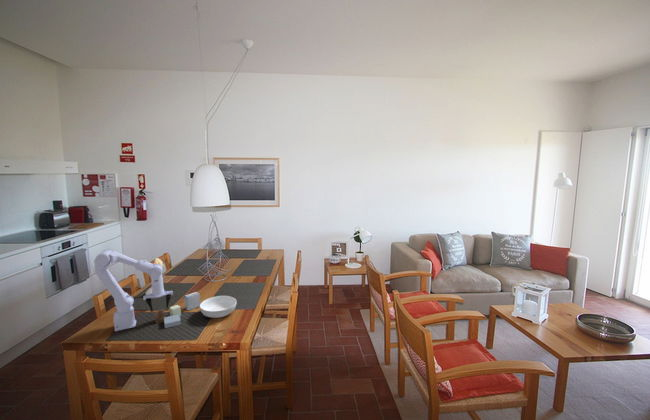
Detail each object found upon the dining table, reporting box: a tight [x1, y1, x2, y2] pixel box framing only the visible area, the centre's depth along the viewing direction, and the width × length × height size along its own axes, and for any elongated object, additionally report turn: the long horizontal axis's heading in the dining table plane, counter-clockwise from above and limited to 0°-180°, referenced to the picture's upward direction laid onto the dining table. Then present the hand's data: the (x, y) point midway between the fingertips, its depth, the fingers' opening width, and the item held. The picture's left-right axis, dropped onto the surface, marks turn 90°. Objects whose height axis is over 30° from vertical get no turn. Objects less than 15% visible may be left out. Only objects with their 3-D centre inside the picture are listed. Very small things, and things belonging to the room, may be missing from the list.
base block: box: [163, 314, 182, 329], centre depth 168 cm, size 8×8×3 cm
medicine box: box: [183, 291, 201, 311], centre depth 186 cm, size 8×4×9 cm, turn 141°
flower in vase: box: [145, 257, 164, 295], centre depth 204 cm, size 13×11×25 cm
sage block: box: [169, 304, 182, 317], centre depth 176 cm, size 4×4×6 cm
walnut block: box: [154, 308, 166, 324], centre depth 170 cm, size 4×4×6 cm
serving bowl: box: [199, 295, 237, 319], centre depth 179 cm, size 21×21×7 cm
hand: (159, 308), depth 170 cm, fingers open, 7 cm apart
